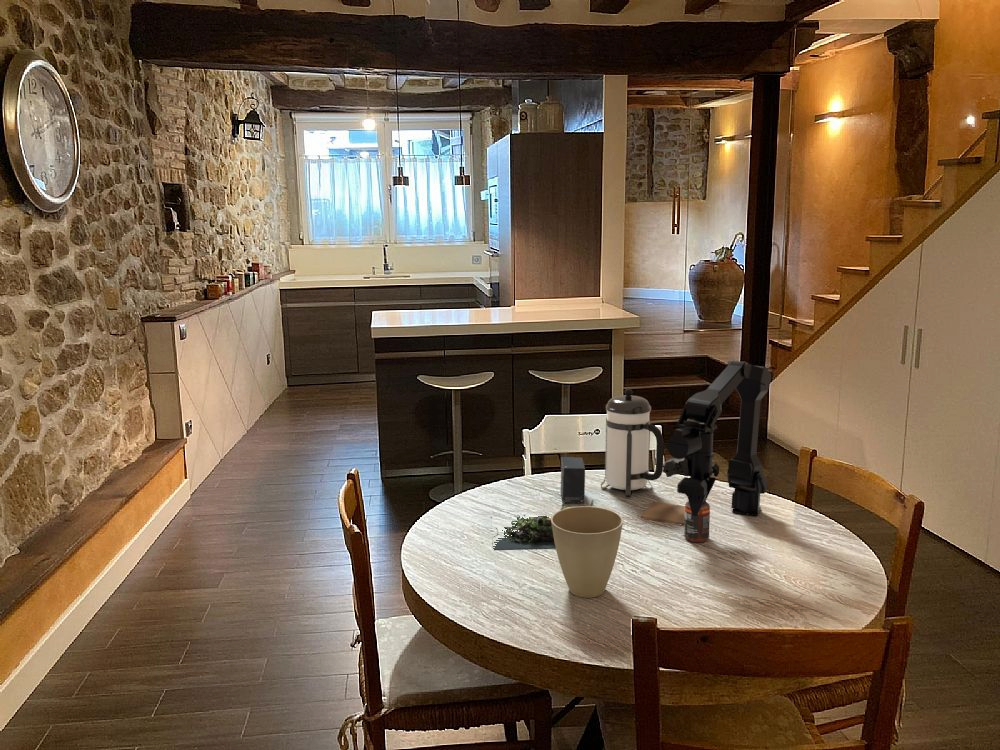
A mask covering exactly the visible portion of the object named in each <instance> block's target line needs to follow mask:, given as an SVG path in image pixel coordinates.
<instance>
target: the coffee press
mask: <svg viewBox="0 0 1000 750" xmlns="http://www.w3.org/2000/svg"><path fill="white" fill-rule="evenodd" d="M633 393H634V392H633V390H632V389H631V388H629V387H628V388H626V389H625V390H624V394H625V395H624V394H623V395H617V396H614V397H612V398H610V399H609V400H608V402H607V404H605V410H606V418H605V434H606V442H605V453H604V454H605V457H604V458H605V459H604V462H605V463H604V479H603V481H602V482H601V484H600V488H601V490H605V489H607V488H608V487H611V488H614V489H617V490H623V491H625V498H631V497H632V491H634V490H635V491H636V490H639V489H642V488H646V489H647V490H648V491H651V490H652V489H653V485H652V483H651V482H650V481H657V480H658V479H659V478H660V477H662V474H663V464H664V449H665V448H664V445H665V444H664V443H665V442H664V437H663V434H662V431H661V429H660V428H659V427H658V426H656V425H655V424H652V423H651V419H650V413H651V411H652V405H650V402H649V401H648V400H647V399H646V398H644V397H642V396H639V395H633ZM651 432H652V434H653V435H654V437H655V440H656V452H655V453H656V457H655V470H654V473H650V440H651V438H650V436H651ZM605 482H606V483H607V484H606V485H605V486H603V485H604V484H605ZM648 483H649V485H650V487H647V484H648Z"/></svg>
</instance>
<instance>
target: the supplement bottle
mask: <svg viewBox="0 0 1000 750" xmlns="http://www.w3.org/2000/svg"><path fill="white" fill-rule="evenodd" d="M684 506H685V526H684V525H683V527H684V531H683V532H684V533H683V534H684V535H683V537H684V538H685V540H687V541H689V542H692V543H704V542H706V541H708V540H709V539H710V522H711V521H710V520H711V519H710V518H711V517H710V516H711V505H710V503H708V502H707V499H706V497H705V499H704V501H703V504H702V506H701V508H700V510H699V513H698V515H697V516H693V515H692V512H691V508H690V504H689V500H688V501H686V503H685V505H684Z"/></svg>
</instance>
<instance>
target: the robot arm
mask: <svg viewBox="0 0 1000 750" xmlns="http://www.w3.org/2000/svg"><path fill="white" fill-rule="evenodd" d="M771 381H772V373H771V371H770V370H769V369H768V367H767V366H760V365H753V364H751V363H748V362H747V361H740V360H731V361H728V362H727V364H726V367H725V369H723V371H722V372H721V373H720V374H719V375H718V376H717V377H716V378H715V379H714V380H713V381H712V383H711V384H710V385H709V386H708V387H707V388H706V389H705V390H702V391H699V392H696V393H694V394H693V395H692V396H690V397H689V398H688V400H687V401H686V402H685V404H684V405H683V409H682V411H681V414H680V416H679V418H678V421H677V422H676V423H677V424H676V427H678V428H676V429H675V430H674V434H673V435H671V436H670V437H669V438H668V439H667V442H666V449H667V451H668V454H669V455H670V456H671V457H672V458H671V459H667V460H665V462H663V471H662V473H665V476H666V477H667V478H671V477H672V476H675V475H676V476H677V475H680V474H681V475H683V476H684V477H683V478H682V479H681V480H680V481H679V482H678V483H677V487H676V489H677V490H676V492H677V494H683V495H685V496H686V497H687V500H688V501H689V504H690V508H691V512H692V515H693V516H697V515H698V513H699V510H700V508H701V506H702V504H703V501H704V499H705V497H706V500H707V499H708V496H709V495H710V493H711V491H712V488H713V487H714V484H715V482H716V480H717V478H718V476H719V474H720V466H719V465H718V464H717V462H713V459H714V457H715V452H713V447H714V444H713V443H714V430H716V429H718V426H717V424H716V422H717V420H718V419H719V417H720V415H721V414H722V412H723V411H722V410H723V409H722V405H723V404H724V402H725V401H726V400H727V399H728V398H729V397H730V395H731V394H732V393H733V392H734V391H735V389H736V391H737V393H738V395H739V397H740V413H739V420H738V421H739V424H738V425H739V426H738V434H737V435H738V437H737V448H736V453H735V454H734V456H733V457H732V458H731V459H729V460H728V463H727V464H728V466H727V467H728V468H727V473H726V477H727V482H728V487H729V488H731V489H732V488H733V489H734V490H733V492H732V493H731V509H732V511H731V513H734V514H741V515H745V516H746V515H747V516H751V517H752V516H753V517H758V516H759V513H760V512H761V511H760V510H761V506H760V503H761V494H766V492H767V489H768V485H769V482H768V480H767V479H766V477H765V475H764V474H763V464H762V462H761V460H760V458H759V456H758V453H757V451H758V450H757V449H758V439H759V429H760V428H759V427H760V426H759V425H760V416H761V413H760V412H761V403H762V399H763V398H764V396H765V395H767V393H768V391H769V388H770V383H771ZM712 475H713V476H714V477H713V476H712Z"/></svg>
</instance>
